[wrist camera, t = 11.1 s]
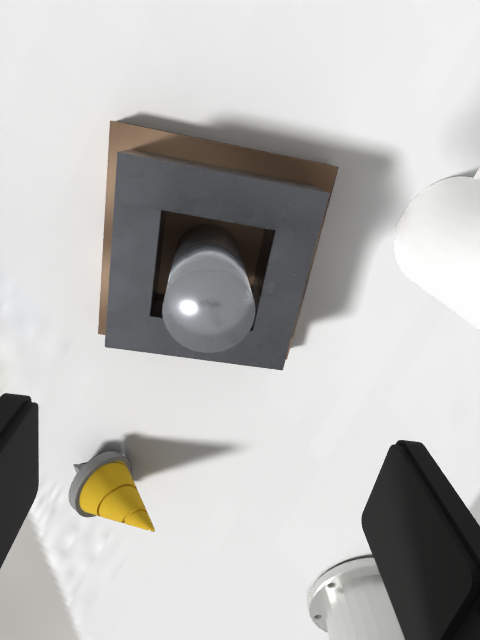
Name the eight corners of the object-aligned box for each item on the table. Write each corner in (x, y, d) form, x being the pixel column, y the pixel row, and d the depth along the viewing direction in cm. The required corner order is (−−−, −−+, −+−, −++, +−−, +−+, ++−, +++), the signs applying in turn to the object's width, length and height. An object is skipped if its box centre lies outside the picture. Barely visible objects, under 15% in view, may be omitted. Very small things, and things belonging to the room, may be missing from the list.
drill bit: (82, 426, 35) (159, 488, 30) (116, 448, 39) (190, 506, 34) (36, 482, 33) (110, 560, 28) (77, 499, 37) (148, 570, 32)
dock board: (283, 349, 33) (286, 359, 31) (103, 325, 31) (98, 333, 30) (332, 165, 27) (338, 167, 26) (115, 121, 25) (110, 120, 24)
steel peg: (233, 292, 29) (244, 358, 21) (170, 281, 28) (156, 345, 20) (247, 231, 27) (265, 277, 19) (180, 217, 26) (169, 260, 18)
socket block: (274, 341, 31) (282, 370, 27) (117, 320, 29) (104, 346, 26) (313, 184, 26) (329, 193, 23) (131, 148, 25) (117, 152, 21)
